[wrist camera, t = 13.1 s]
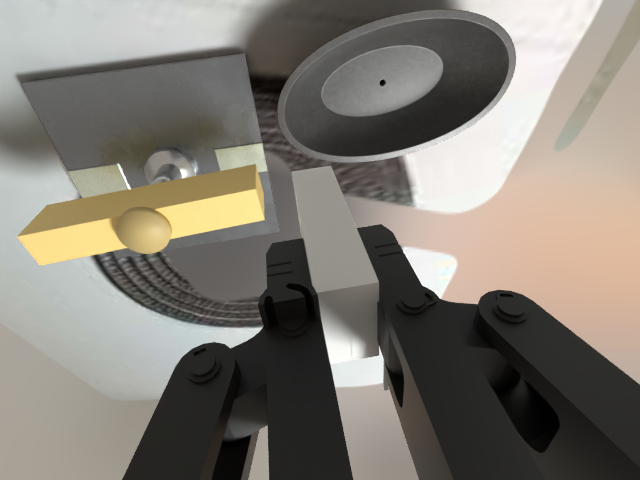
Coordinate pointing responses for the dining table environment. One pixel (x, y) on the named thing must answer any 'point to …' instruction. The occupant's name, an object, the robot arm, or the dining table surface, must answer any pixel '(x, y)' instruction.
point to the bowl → (396, 85)
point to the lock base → (157, 130)
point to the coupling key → (145, 215)
